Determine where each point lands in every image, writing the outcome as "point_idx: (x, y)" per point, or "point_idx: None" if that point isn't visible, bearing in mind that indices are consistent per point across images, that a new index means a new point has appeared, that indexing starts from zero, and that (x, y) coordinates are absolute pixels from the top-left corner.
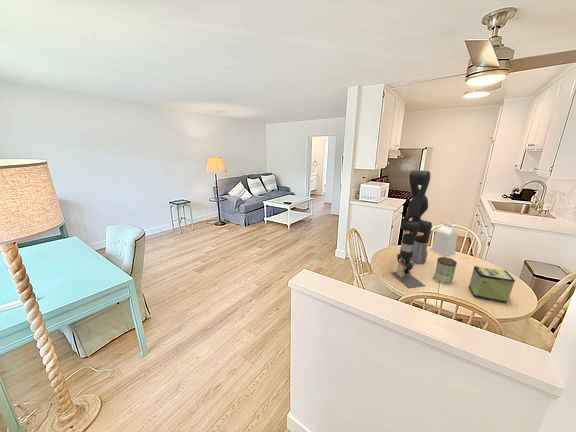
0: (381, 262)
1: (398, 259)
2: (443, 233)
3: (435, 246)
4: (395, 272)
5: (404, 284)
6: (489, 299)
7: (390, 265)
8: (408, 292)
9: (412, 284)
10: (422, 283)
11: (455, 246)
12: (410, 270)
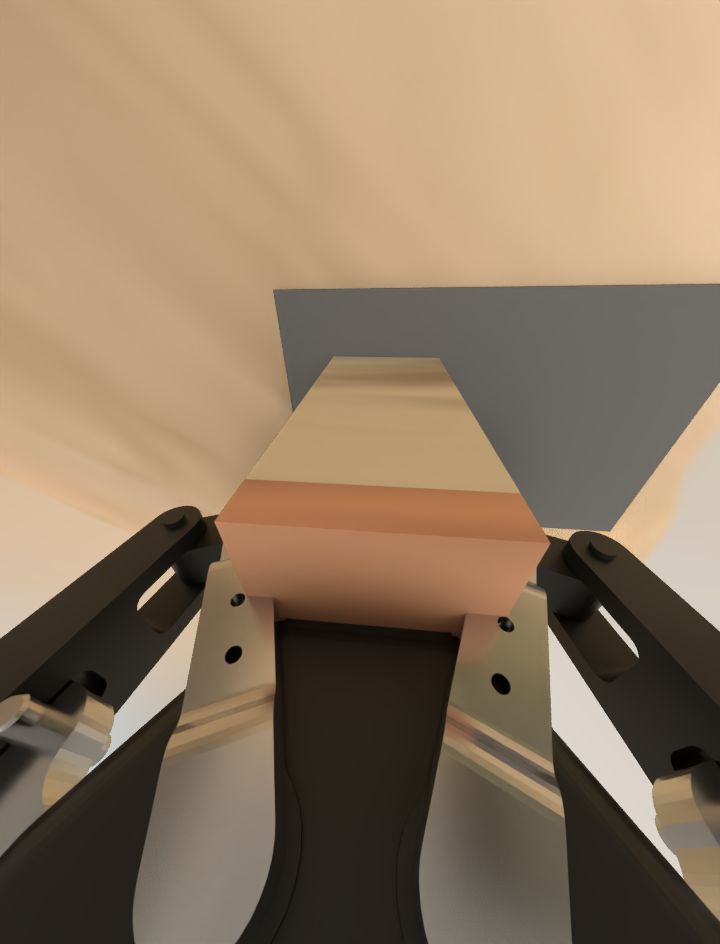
0: (84, 472)
1: (175, 633)
2: None
3: None
4: None
5: (542, 526)
6: None
7: (130, 419)
8: (645, 558)
9: (603, 458)
10: (715, 285)
11: None
12: (460, 401)
